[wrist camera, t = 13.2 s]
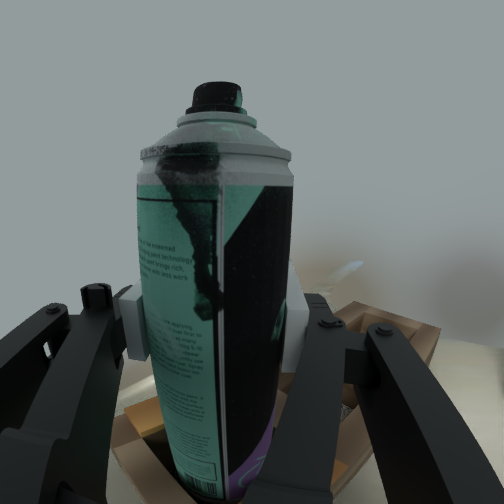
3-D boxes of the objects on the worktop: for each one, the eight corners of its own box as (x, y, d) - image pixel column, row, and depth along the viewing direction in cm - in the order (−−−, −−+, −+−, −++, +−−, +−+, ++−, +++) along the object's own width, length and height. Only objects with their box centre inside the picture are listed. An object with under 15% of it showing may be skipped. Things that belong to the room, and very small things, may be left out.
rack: (429, 365, 28) (442, 324, 26) (222, 584, 7) (215, 572, 6) (348, 335, 36) (354, 297, 35) (118, 464, 15) (96, 417, 14)
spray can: (277, 495, 12) (324, 74, 7) (183, 509, 11) (133, 58, 6) (253, 435, 17) (268, 109, 12) (174, 443, 16) (148, 105, 11)
